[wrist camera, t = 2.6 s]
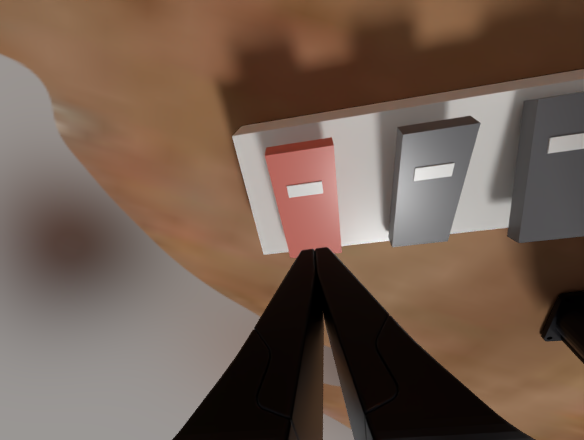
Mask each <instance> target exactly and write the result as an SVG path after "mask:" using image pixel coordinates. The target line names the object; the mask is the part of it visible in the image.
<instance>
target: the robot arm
mask: <svg viewBox="0 0 584 440" xmlns="http://www.w3.org/2000/svg"><path fill="white" fill-rule="evenodd" d="M323 314H324V318H323ZM324 320H325V324H326V329H327V333H328V337H329V341H330V345H331V349H332V352H333V357H334V360H335V364H336V368H337V372H338V376H339V380H340V384H341V388H342V392H343V396H344V400H345V404H346V408H347V412H348V416H349V420H350V424H351V428H352V432H353V436H354V440H535V439H533V438H532V437H530V436H528V435H527V434H525V433H523V432H522V431H520V430H519V429H517V428H516V427H514V426H513V425H511V424H510V423H508V422H507V421H506V420H504V419H503V418H502V417H500V416H499V415H498V414H497V413H495V412H494V411H493V410H492V409H491V408H490V407H488V406H487V405H486V404H485V403H484V402H483V401H481V400H480V399H479V398H478V397H477V396H476V395H475V394H474V393H472V392H471V391H470V390H469V389H468V388H467V387H466V386H464V385H463V384H462V383H461V382H460V381H459V380H458V379H456V378H455V377H454V376H453V375H452V374H451V373H450V372H448V371H447V370H446V369H445V368H444V367H443V366H442V365H441V364H439V363H438V362H437V361H436V360H435V359H434V358H433V357H432V356H430V355H429V354H428V353H427V352H426V351H425V350H424V349H423V348H422V347H421V346H420V345H418V344H417V343H416V342H415V341H414V340H413V339H412V338H411V337H410V336H409V335H408V334H407V332H406V331H405V330H404V329H403V328H402V327H401V326H400V325H399V324H398V323H397V322H396V321H395V320H394V319H393V317H392V316H389V313H388V312H387V311H386V310H385V309H384V308H383V307H382V306H381V305H380V303H379V302H378V301H377V300H376V299H375V298H374V297H373V296H372V295H371V294H370V293H369V291H368V290H367V289H366V288H365V287H364V286H363V285H362V284H361V283H360V282H359V280H358V279H357V278H356V277H355V276H354V275H353V274H352V273H351V272H350V271H349V270H348V268H347V267H346V266H345V265H344V264H343V263H342V262H341V261H340V260H339V259H338V257H337V256H336V255H335V254H334V253H333V252H332V251H331V250H330V249H329V248H328V247H321V248H316V249H315V250H314V249H306V250H302V251H301V252H300V253H299V255H298V257H297V258H296V260H295V262H294V263H293V265H292V267H291V268H290V270H289V271H288V273H287V275H286V276H285V278H284V280H283V281H282V283H281V285H280V286H279V288H278V290H277V291H276V293H275V294H274V296H273V298H272V299H271V301H270V303H269V304H268V306H267V308H266V309H265V311H264V313H263V314H262V316H261V317H260V319H259V321H258V323H257V324H256V326H255V328H254V329H255V330H253V331H252V332H251V334H250V335H249V337H248V339H247V340H246V342H245V343H244V345H243V346H242V348H241V350H240V351H239V353H238V354H237V356H236V357H235V359H234V360H233V361H232V363H231V364H230V366H229V367H228V369H227V370H226V371H225V372H224V374H223V375H222V377H221V378H220V379H219V381H218V382H217V383H216V384H215V386H214V387H213V388H212V390H211V391H210V392H209V394H208V395H207V396H206V398H205V399H204V400H203V402H202V403H201V404H200V406H199V407H198V408H197V409H196V411H195V412H194V413H193V415H192V416H191V417H190V419H189V420H188V421H187V423H186V424H185V425H184V426H183V428H182V429H181V430H180V431H179V433H178V434H177V435H176V436H175V437H174V438H173V439H172V440H323V347H324ZM541 337H542V338H543V339H544V340H545V341H561V340H562V341H563V342H564V343H565V344H566V345H567V346H568V347H569V348H570V350H571V351H572V352H573V353H574V354H575V355H576V356H577V357H578V358H579V359H580V360H581V361H582V362H583V364H584V292H573V293H564V294H561V295H560V296H559V297H558V299H557V301H556V303H555V306H554V308H553V310H552V312H551V315H550V317H549V319H548V321H547V324H546V326H545V328H544V330H543V333H542V335H541Z"/></svg>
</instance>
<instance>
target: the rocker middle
mask: <svg viewBox="0 0 584 440" xmlns="http://www.w3.org/2000/svg"><path fill="white" fill-rule="evenodd" d="M480 124H481V123H480V122H479V121H477V120H476V119H474V118H473V117H472V116H465V117H458V118H452V119H445V120H439V121H433V122H426V123H420V124H413V125H407V126H401V127H397V136H396V148H395V160H394V172H393V185H392V197H391V209H390V222H389V234H388V238H389V240H390V243H391V245H392V247H398V246H407V245H416V244H425V243H435V242H444V241H448V238H449V235H450V231H451V228H452V224H453V221H454V217H455V213H456V210H457V206H458V203H459V199H460V195H461V192H462V188H463V185H464V181H465V177H466V174H467V170H468V167H469V163H470V159H471V156H472V152H473V149H474V145H475V142H476V138H477V134H478V131H479V127H480Z"/></svg>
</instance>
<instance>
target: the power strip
mask: <svg viewBox="0 0 584 440" xmlns="http://www.w3.org/2000/svg"><path fill="white" fill-rule="evenodd" d="M582 91H584V69H581V70H575V71H569V72H563V73H557V74H551V75H545V76H539V77H533V78H527V79H521V80H515V81H509V82H503V83H497V84H491V85H485V86H479V87H473V88H467V89H461V90H455V91H449V92H443V93H437V94H431V95H425V96H419V97H413V98H407V99H401V100H395V101H389V102H383V103H377V104H371V105H365V106H359V107H353V108H347V109H341V110H335V111H329V112H323V113H317V114H311V115H305V116H299V117H293V118H287V119H281V120H275V121H269V122H263V123H257V124H251V125H245V126H241V127H240V128H239V129H238V130H237V131H236V133H235V134H234V135H233V136H232V138H233V142H234V146H235V149H236V153H237V157H238V161H239V164H240V168H241V172H242V175H243V179H244V183H245V187H246V190H247V194H248V198H249V202H250V205H251V209H252V213H253V216H254V220H255V224H256V228H257V231H258V235H259V239H260V242H261V246H262V250H263V254H264V255H265V254H274V253H283V252H289V250H288V246H287V242H286V238H285V234H284V230H283V226H282V222H281V218H280V214H279V210H278V206H277V202H276V199H275V195H274V191H273V187H272V183H271V179H270V175H269V171H268V167H267V163H266V159H265V151H266V147H273V146H279V145H285V144H292V143H298V142H305V141H311V140H317V139H324V138H330V137H332V140H333V144H334V154H335V167H336V181H337V195H338V208H339V222H340V235H341V246H346V245H355V244H364V243H373V242H382V241H390V240H389V238H388V234H389V222H390V209H391V197H392V185H393V172H394V160H395V148H396V136H397V127H401V126H407V125H413V124H420V123H426V122H433V121H439V120H445V119H452V118H458V117H465V116H472V117H473V118H474V119H476V120H477V121H479V122H480V123H481V124H480V127H479V131H478V134H477V138H476V142H475V145H474V149H473V152H472V156H471V159H470V163H469V167H468V170H467V174H466V177H465V181H464V185H463V188H462V192H461V195H460V199H459V203H458V206H457V210H456V213H455V217H454V221H453V224H452V228H451V231H450V234H454V233H463V232H472V231H481V230H490V229H499V228H508V226H509V218H510V210H511V202H512V193H513V185H514V177H515V169H516V160H517V152H518V144H519V136H520V127H521V119H522V111H523V103H524V101H525V100H531V99H538V98H544V97H550V96H557V95H563V94H569V93H575V92H582Z"/></svg>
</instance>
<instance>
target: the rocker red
mask: <svg viewBox="0 0 584 440" xmlns="http://www.w3.org/2000/svg"><path fill="white" fill-rule="evenodd" d="M265 159H266V163H267V167H268V171H269V175H270V179H271V183H272V187H273V191H274V195H275V199H276V202H277V206H278V210H279V214H280V218H281V222H282V226H283V230H284V234H285V238H286V242H287V246H288V250H289V254H290V258H296V257H298V255H299V253H300V252H301V251H302V250H306V249H314V250H315V249H316V248H321V247H328V248H329V249H330V250H331V251H332V252H333V253H342V249H341V235H340V222H339V208H338V195H337V181H336V167H335V154H334V144H333V140H332V137H330V138H324V139H317V140H311V141H305V142H298V143H292V144H285V145H279V146H273V147H266V151H265Z"/></svg>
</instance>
